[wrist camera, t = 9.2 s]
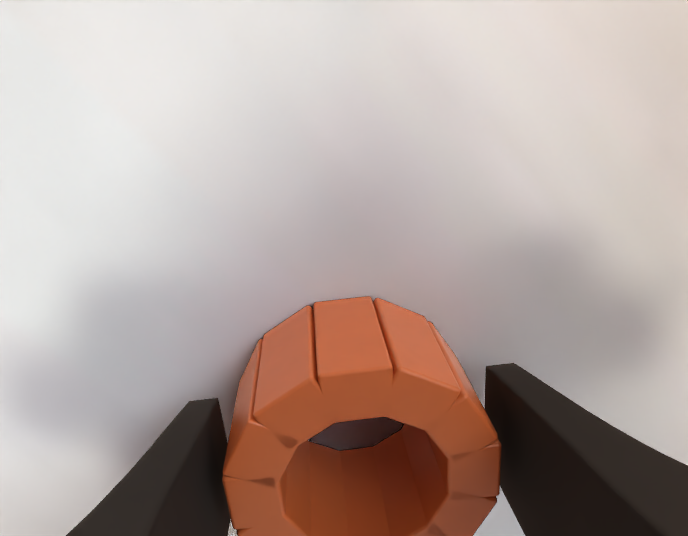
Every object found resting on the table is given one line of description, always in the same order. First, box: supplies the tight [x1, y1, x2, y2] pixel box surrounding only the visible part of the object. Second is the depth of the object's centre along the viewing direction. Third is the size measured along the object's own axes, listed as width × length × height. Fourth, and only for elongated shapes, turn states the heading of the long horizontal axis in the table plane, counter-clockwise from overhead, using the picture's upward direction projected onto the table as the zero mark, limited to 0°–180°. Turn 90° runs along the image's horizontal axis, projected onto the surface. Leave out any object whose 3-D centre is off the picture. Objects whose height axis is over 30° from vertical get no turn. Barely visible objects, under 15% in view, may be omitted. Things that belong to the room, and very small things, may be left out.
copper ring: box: [222, 296, 501, 536], centre depth 11 cm, size 5×5×3 cm
